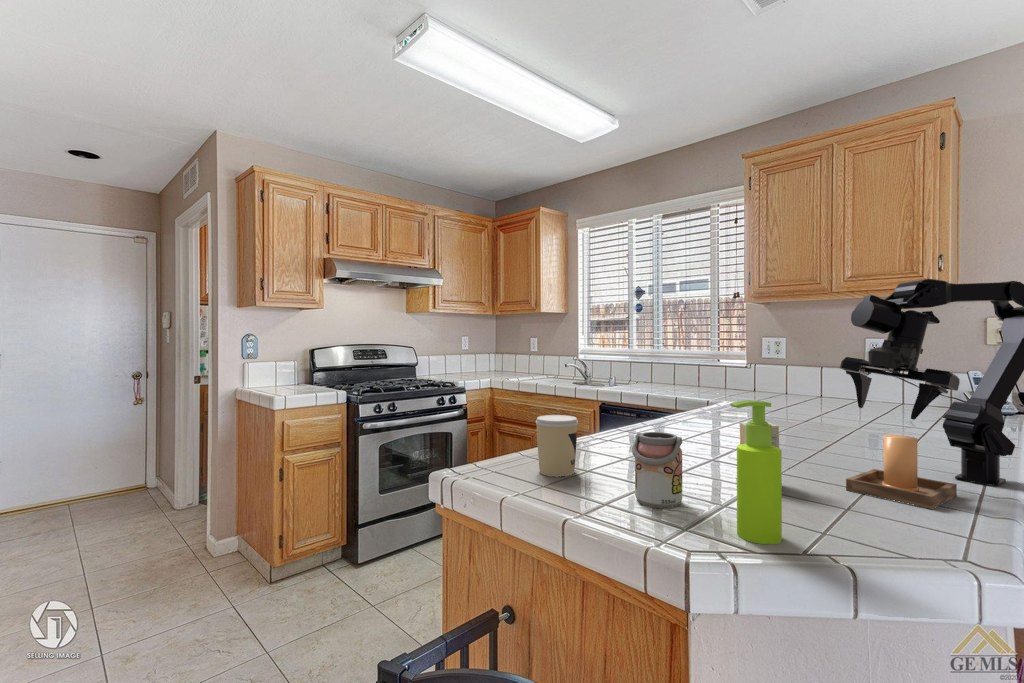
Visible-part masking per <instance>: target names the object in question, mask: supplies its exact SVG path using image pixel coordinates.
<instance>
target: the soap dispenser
mask: <svg viewBox="0 0 1024 683" xmlns="http://www.w3.org/2000/svg"><path fill="white" fill-rule="evenodd" d="M729 405H730V406H731V407H733V408H737V409H741V408H745V407H746V408H747V407H752V408H751V414H752V415H751V418H752V419H751V420H749V421H748V422H745V423H746V444H740V443H739V444H737V445H736V534H737V536H738V537H740V539H743V540H745V541H748V542H749V543H755V544H760V545H776V544H777V545H778V544H780V543H781V542H782V540H783V539H782V538H783V535H782V534H783V533H782V531H783V530H782V526H783V524H782V516H783V515H782V514H783V513H782V508H783V507H782V506H783V505H782V504H783V503H782V502H783V501H782V499H783V498H782V495H783V494H782V493H783V492H782V488H783V487H782V482H783V481H782V479H783V478H782V476H783V475H782V449H781V448H780V447H779V448H777V447H774V446H772V426H771V424H768V423H769V422H768V421H766V407H767V408H771V407H772V402H768V401H762V400H750V399H747V400H746V399H745V400H738V401H734V402H731V403H730V404H729Z"/></svg>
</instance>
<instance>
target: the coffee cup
mask: <svg viewBox="0 0 1024 683" xmlns="http://www.w3.org/2000/svg"><path fill="white" fill-rule="evenodd" d="M535 424H536V440H537V453H538V457H537V458H538V470H539V473H540V474H541V475H543V476H546V475H547V476H546V477H552V476H556V477H555V478H561V476H565V477H569V475H570V476H572V474H573V475H574V474H575V469H576V457H577V456H576V455H577V439H578V436H577V435H578V425H579V420H578V419H577V417H576V416H573V415H564V414H546V415H540V416H539V415H538V416H537V417H536V420H535ZM558 476H560V477H558Z"/></svg>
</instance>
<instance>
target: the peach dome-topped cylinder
mask: <svg viewBox="0 0 1024 683" xmlns="http://www.w3.org/2000/svg"><path fill="white" fill-rule="evenodd" d="M918 468H919V466H918V438H917V437H915V436H910V435H902V434H884V435H883V471H884V481H883V482H882V485H884V486H889V487H894V488H899V489H904V490H909V491H914V492H918V493H919V487H918V477H919V476H918V474H919V473H918Z"/></svg>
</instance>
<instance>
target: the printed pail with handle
mask: <svg viewBox="0 0 1024 683" xmlns="http://www.w3.org/2000/svg"><path fill="white" fill-rule="evenodd" d="M634 437H635V439H634V441H633V444H632V447H631V452H632V454H631V455H632V456H634V495H635V498H636V500H637V501H638V503H639V504H641V505H643V506H645V507H649V508H653V509H654V508H655V509H674V508H676V507H678V506H680V505H681V503H682V501H683V450H682V448H681V446H682V444H683V437H681V436H677V435H676V434H673V433H671V432H670V433H669V432H661V431H648V432H647V431H646V432H637V433H636V434H635V436H634Z"/></svg>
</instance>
